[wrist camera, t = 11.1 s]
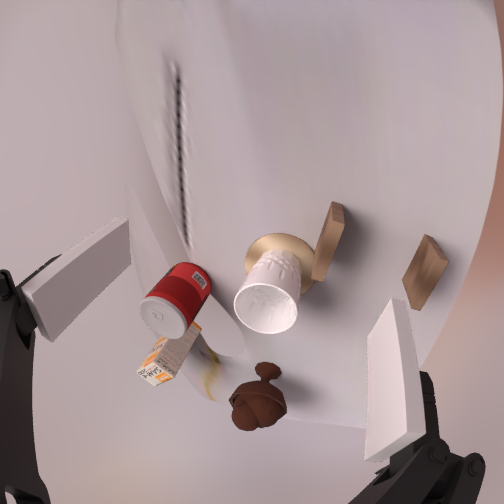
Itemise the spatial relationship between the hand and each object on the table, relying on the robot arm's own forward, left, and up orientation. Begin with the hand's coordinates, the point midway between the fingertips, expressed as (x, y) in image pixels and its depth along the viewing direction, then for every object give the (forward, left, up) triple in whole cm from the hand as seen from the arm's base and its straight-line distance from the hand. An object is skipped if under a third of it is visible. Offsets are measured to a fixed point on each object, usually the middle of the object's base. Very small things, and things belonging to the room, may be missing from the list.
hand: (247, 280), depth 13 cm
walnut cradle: (+7, +13, -26) cm, 30 cm away
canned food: (+23, -13, -26) cm, 37 cm away
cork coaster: (+15, +1, -26) cm, 30 cm away
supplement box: (+36, -14, -26) cm, 47 cm away
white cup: (+15, +1, -26) cm, 30 cm away
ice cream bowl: (+40, +5, -26) cm, 48 cm away
